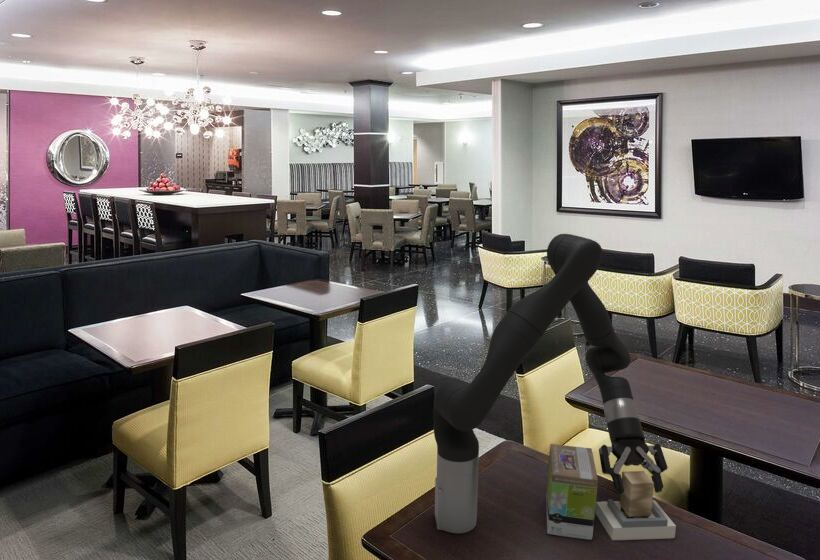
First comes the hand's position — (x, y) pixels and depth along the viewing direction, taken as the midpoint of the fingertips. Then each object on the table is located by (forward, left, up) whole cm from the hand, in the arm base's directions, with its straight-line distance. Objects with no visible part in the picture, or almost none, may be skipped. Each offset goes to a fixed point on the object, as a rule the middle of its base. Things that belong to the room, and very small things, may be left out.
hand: (640, 492), depth 131 cm
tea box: (-14, +5, -9) cm, 18 cm away
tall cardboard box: (0, +1, -6) cm, 6 cm away
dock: (0, +2, -9) cm, 9 cm away
